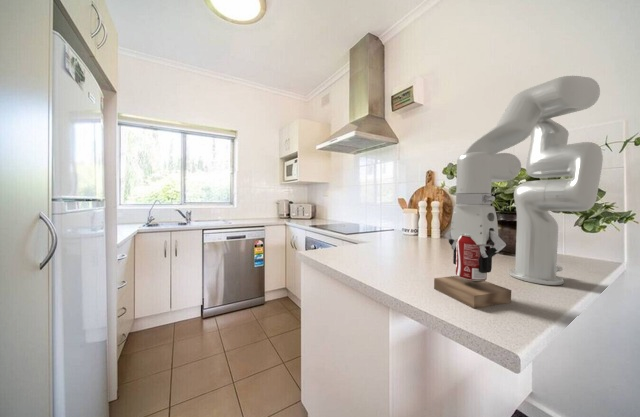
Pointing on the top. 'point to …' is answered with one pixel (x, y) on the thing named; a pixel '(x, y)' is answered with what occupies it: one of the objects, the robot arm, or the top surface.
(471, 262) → the soda can
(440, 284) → the base block
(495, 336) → the top surface
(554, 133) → the robot arm
